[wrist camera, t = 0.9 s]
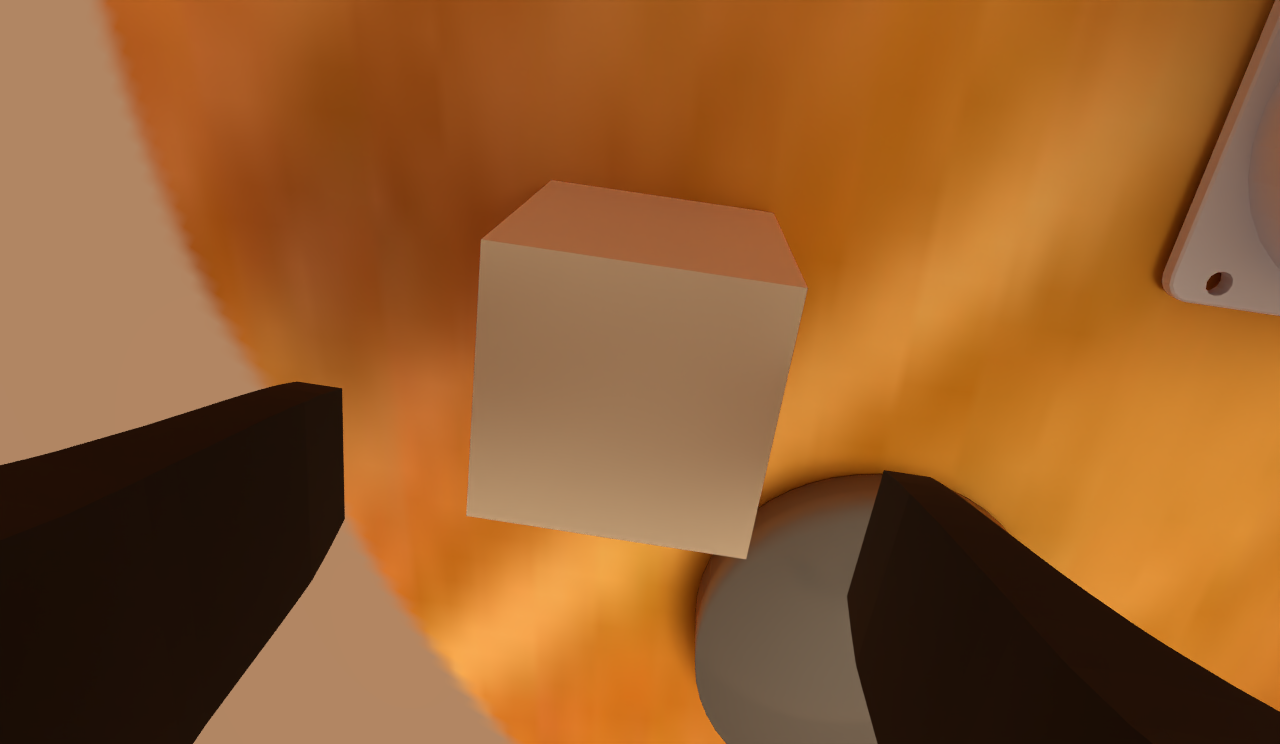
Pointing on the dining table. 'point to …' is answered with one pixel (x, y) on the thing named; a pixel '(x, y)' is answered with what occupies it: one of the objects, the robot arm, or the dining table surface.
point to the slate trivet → (788, 622)
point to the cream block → (630, 366)
